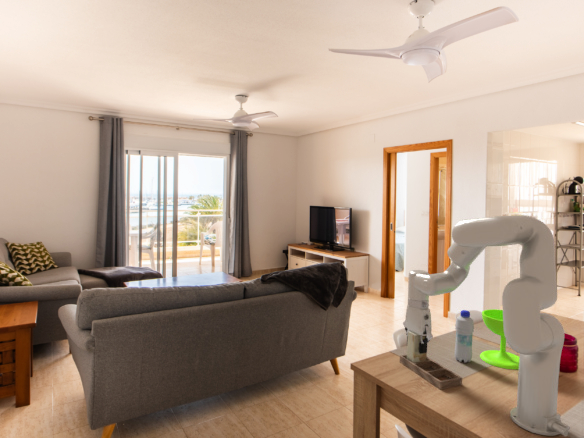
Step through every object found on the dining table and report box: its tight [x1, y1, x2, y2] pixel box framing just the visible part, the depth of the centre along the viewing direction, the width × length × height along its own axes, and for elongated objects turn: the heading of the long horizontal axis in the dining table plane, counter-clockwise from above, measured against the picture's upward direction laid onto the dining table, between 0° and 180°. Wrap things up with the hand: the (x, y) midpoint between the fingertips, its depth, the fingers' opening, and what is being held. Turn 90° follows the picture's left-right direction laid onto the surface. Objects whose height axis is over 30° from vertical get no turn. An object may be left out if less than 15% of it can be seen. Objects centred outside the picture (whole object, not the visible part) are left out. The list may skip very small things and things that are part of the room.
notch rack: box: [399, 354, 463, 390], centre depth 138 cm, size 22×9×2 cm, turn 20°
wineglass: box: [479, 308, 520, 370], centre depth 149 cm, size 16×16×18 cm
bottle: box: [454, 309, 475, 364], centre depth 148 cm, size 7×7×20 cm
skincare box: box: [406, 331, 428, 363], centre depth 144 cm, size 6×4×12 cm
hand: (416, 348), depth 144 cm, fingers open, 6 cm apart
